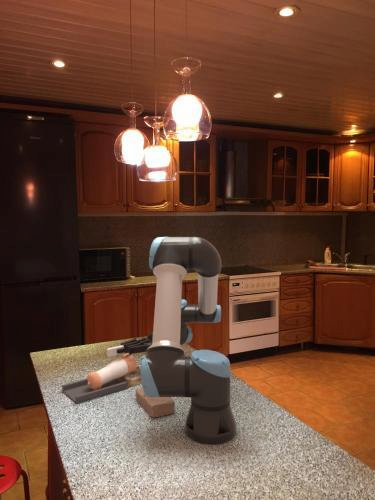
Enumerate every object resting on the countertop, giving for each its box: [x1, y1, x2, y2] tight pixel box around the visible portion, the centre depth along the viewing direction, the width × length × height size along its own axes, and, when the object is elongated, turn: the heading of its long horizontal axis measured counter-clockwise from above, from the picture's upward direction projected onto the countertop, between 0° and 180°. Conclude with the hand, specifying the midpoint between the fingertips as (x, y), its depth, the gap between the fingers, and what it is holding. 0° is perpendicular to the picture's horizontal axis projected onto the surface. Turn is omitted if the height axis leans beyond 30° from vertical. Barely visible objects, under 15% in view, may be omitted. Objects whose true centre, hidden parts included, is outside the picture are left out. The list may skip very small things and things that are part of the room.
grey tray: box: [61, 378, 129, 405], centre depth 147 cm, size 20×13×2 cm, turn 129°
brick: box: [134, 386, 176, 418], centre depth 135 cm, size 16×8×5 cm, turn 27°
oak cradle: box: [116, 365, 142, 388], centre depth 157 cm, size 12×11×3 cm
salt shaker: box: [86, 353, 138, 390], centre depth 150 cm, size 7×7×19 cm
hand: (107, 352), depth 150 cm, fingers closed
